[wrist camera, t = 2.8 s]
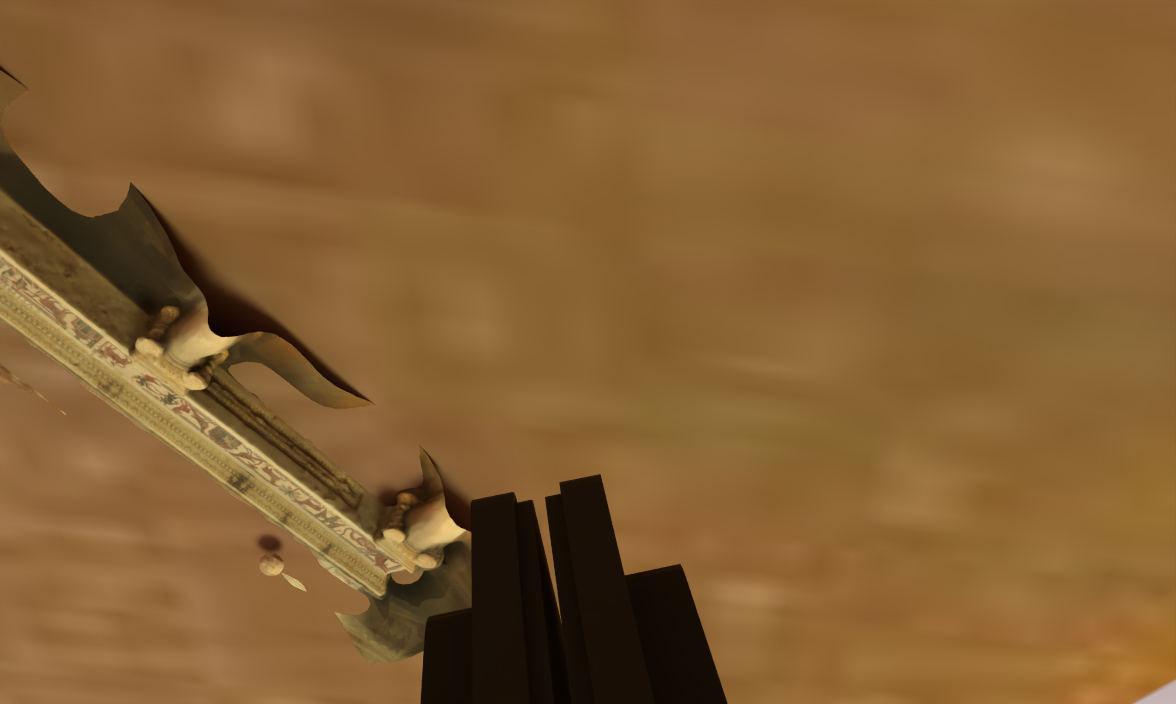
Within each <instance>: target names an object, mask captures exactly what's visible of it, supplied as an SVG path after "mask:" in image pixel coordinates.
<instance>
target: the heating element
mask: <svg viewBox="0 0 1176 704" xmlns="http://www.w3.org/2000/svg"><path fill="white" fill-rule="evenodd" d="M28 90H29V89H27V88H26V87H24V86H23V85H21V84H20V83H18V82H17V81H16V80H14V79H13V78H11V77H10V76H8V75H7V74H5V73H4V72H2V71H1V70H0V321H1V322H3V323H4V324H6V325H8V326H10V327H12V328H13V329H15V330H16V331H17V332H18V333H19V334H21V335H22V336H23V337H24V338H25V339H26V340H27V341H28V343H29V344H30V345H32V346H33V347H35V348H37V349H39V350H40V351H41V352H43V353H44V354H45V355H47V356H48V357H49V358H51V359H52V360H53V361H55V362H56V363H58V364H60V365H61V366H62V367H64V368H65V369H66V370H67V371H68V372H69V373H70V374H72V375H73V376H74V377H75V378H76V379H77V381H78V382H79V383H80V384H81V385H82V386H83V387H84V388H85V389H87V390H88V391H89V392H91V393H93V394H94V395H96V396H97V397H99V398H100V399H102V400H103V401H104V402H106V403H107V404H108V405H110V406H111V407H112V408H114V409H115V410H117V411H119V412H120V413H122V414H123V415H124V416H126V417H127V418H128V419H129V420H130V421H131V422H132V423H133V424H134V425H136V426H137V427H139V428H141V429H143V430H144V431H146V432H148V433H150V434H151V435H153V436H154V437H156V438H157V439H159V440H160V441H161V442H163V443H164V444H166V445H168V446H169V447H170V448H172V449H173V450H174V451H176V452H177V453H179V454H180V455H181V456H183V457H184V458H185V459H187V460H188V461H190V462H191V463H193V464H195V465H197V466H198V467H200V468H202V469H203V470H205V471H206V472H207V473H208V474H209V475H210V476H211V478H212V479H213V480H214V481H215V482H216V483H218V484H219V485H220V486H221V487H223V488H224V489H225V490H226V491H227V492H228V493H229V494H230V495H232V496H233V497H234V498H236V499H238V500H240V501H242V502H244V503H246V504H247V505H248V506H250V507H254V508H255V509H256V510H257V511H259V512H260V513H261V514H262V515H263V516H264V517H265V519H266V520H267V521H269V522H271V523H273V524H275V525H277V526H279V527H281V528H283V529H284V530H286V531H288V532H289V533H290V534H291V535H292V538H293V539H294V540H295V541H297V542H298V543H300V544H304V545H305V546H306V547H307V548H309V549H310V550H311V552H312V554H313V555H314V556H315V557H317V559H318V562H319V563H320V565H322V566H323V567H324V568H325V569H327V570H328V571H329V572H331V573H332V574H333V575H334V576H336V577H337V578H339V579H340V580H342V581H343V582H345V583H346V584H348V585H349V586H350V587H352V588H354V589H356V590H358V591H360V592H362V593H363V594H365V595H366V596H367V597H368V598H369V601H370V607H369V609H368V610H367V611H365V612H364V613H362V614H360V615H343V614H340V613H336V612H335V613H336V615H337V616H338V618H339V619H340V621H341V622H342V624H343V626H344V628H345V629H346V631H347V633H348V634H349V636H350V638H351V640H352V641H353V643H354V645H355V646H356V648H357V649H358V651H359V652H360V654H361V655H362V656H363V657H364V658H365V659H367V660H368V661H369V662H370V663H371V664H372V665H373V664H374V663H375V662H377V661H380V662H384V663H389V662H396V661H399V660H402V659H405V658H408V657H411V656H414V655H416V654H418V653H420V652H422V651H424V638H425V627H426V621H427V619H428V617H429V616H433V615H438V614H443V613H448V612H452V611H457V610H462V609H467V608H471V607H472V573H471V532H470V531H467V530H465V529H462V528H460V527H459V526H457V525H456V524H455V523H454V521H453V520H452V519H451V518H450V517H449V514H448V512H447V510H446V508H445V497H444V492H443V486H442V482H441V479H440V476H439V474H438V472H437V470H436V469H435V467H434V465H433V464H432V462H431V460H430V459H429V457H428V456H427V454H426V453H425V452H424V450H423V449H422V448H421V446H420V445H419V446H420V461H421V467H422V471H423V477H424V483H423V485H422V486H421V487H420V488H410V489H405V490H403V491H401V492H400V493H399V494H398V495H397V496H396V499H397V505H395V506H384V505H383V504H382V503H380V502H379V501H378V500H377V499H376V498H375V496H374V495H372V494H371V493H369V492H368V491H367V490H365V489H364V488H363V487H362V486H361V485H359V484H358V483H357V482H356V481H355V480H353V479H352V478H351V477H350V476H347V475H346V473H345V472H344V471H343V470H342V469H341V468H339V467H338V466H337V465H335V464H334V463H333V462H332V461H331V460H330V459H329V458H328V457H327V456H325V455H324V454H323V453H322V452H320V450H318V449H317V448H315V447H314V446H313V443H312V442H311V441H310V440H308V439H305V438H304V437H302V436H301V435H300V434H299V433H298V432H296V431H295V430H294V429H293V428H292V427H291V426H290V425H289V424H287V423H286V422H285V421H284V420H283V419H282V418H280V417H279V416H277V415H276V414H275V413H274V412H273V411H272V410H271V409H269V408H268V407H267V406H266V405H265V404H264V403H263V402H262V401H260V399H259V398H258V397H257V396H256V395H255V394H253V393H251V392H249V391H248V390H247V389H245V388H244V387H243V386H242V385H241V384H240V383H239V382H237V381H236V380H235V379H234V378H233V376H232V375H231V374H230V373H229V371H228V368H229V367H230V366H231V365H234V364H238V363H242V362H258V363H262V364H264V365H265V366H267V367H269V368H270V369H272V370H273V371H274V372H276V373H277V374H278V375H280V376H281V377H282V378H284V379H285V380H286V381H287V382H289V383H290V384H291V385H292V386H294V387H295V388H296V389H297V390H299V391H300V392H301V393H303V394H304V395H305V396H307V397H308V398H310V399H311V400H313V401H315V402H317V403H319V404H321V405H323V406H326V407H331V408H335V409H342V408H355V407H364V406H369V405H375V404H373V403H371V402H369V401H367V400H364V399H361V398H359V397H356V396H354V395H352V394H350V393H348V392H346V391H344V390H342V389H340V388H338V387H336V386H335V385H333V384H332V383H331V382H329V381H328V380H327V379H325V378H324V377H323V376H322V375H321V374H320V373H319V372H318V371H317V370H316V369H315V368H314V367H313V366H312V365H311V364H310V363H309V361H308V360H307V359H306V358H305V357H304V356H303V355H302V354H301V353H300V352H299V351H298V350H297V349H296V348H294V347H293V346H292V345H291V344H290V343H288V342H287V341H285V340H284V339H282V338H281V337H279V336H277V335H275V334H272V333H266V332H255V333H247V334H245V335H240V336H235V337H220V336H217V335H215V334H214V333H213V332H212V331H211V330H210V328H209V326H208V307H207V303H206V300H205V297H204V296H203V294H202V292H201V291H200V289H199V288H198V287H197V286H196V285H195V283H194V282H193V281H192V280H191V279H190V278H189V276H188V275H187V274H186V273H185V272H184V270H183V268H182V267H181V265H180V263H179V261H178V258H177V255H176V253H175V250H174V248H173V246H172V244H171V242H170V240H169V238H168V236H167V233H166V232H165V230H164V229H163V227H162V225H161V224H160V222H159V221H158V219H157V217H156V216H155V214H154V212H153V211H152V209H151V208H150V207H149V205H148V204H147V203H146V201H145V200H144V198H143V197H142V196H141V194H140V193H139V192H138V191H137V189H136V188H135V187H134V186H133V184H132V183H130V187H129V191H128V194H127V197H126V199H125V200H124V202H123V203H122V204H121V206H120V207H119V210H118V211H115V212H112V213H109V214H104V215H102V216H95V217H94V218H91V217H86V216H83V215H80V214H78V213H76V212H74V211H71V210H70V209H69V208H67V207H66V206H65V205H64V204H62V203H61V202H60V201H59V200H58V199H56V198H55V197H54V196H53V195H52V194H51V193H50V192H49V191H47V190H46V189H45V188H44V186H43V185H42V184H41V183H40V182H39V181H38V179H37V178H36V177H35V176H34V175H33V174H32V173H31V171H30V170H29V169H28V168H27V166H26V165H25V164H24V163H23V162H22V161H21V159H20V158H19V157H18V156H17V155H16V153H15V152H14V151H13V150H12V148H11V147H10V145H9V144H8V142H7V140H6V138H5V136H4V133H3V129H2V125H1V118H2V114H3V111H4V108H5V107H6V106H7V105H9V104H10V103H11V102H12V101H13V100H15V99H16V98H17V97H18V96H19V95H21V94H22V93H23V92H25V91H28ZM0 383H13V384H14V385H15V386H16V387H17V388H22V389H25V390H26V391H28V392H29V393H32V394H35V395H37V396H39V397H40V398H42V399H44V400H46V399H45V398H44V397H43V396H42V395H40V394H39V393H38V392H37V391H35V390H34V389H33V388H32V387H30V386H29V385H28V384H26V383H24V382H23V381H22V380H20V379H19V378H17V377H16V376H14V375H13V374H12V373H11V372H10V371H8V370H7V369H6V368H5V367H4V366H2V365H1V364H0ZM46 401H47V402H49V401H48V400H46ZM49 403H50V402H49ZM50 404H51V403H50ZM52 405H53V404H52ZM53 406H54V405H53ZM60 411H61V410H60ZM61 412H62V411H61ZM63 413H64V412H63ZM64 414H65V413H64ZM65 415H66V414H65ZM259 567H260V570H261V571H262V572H263V573H264V574H266V575H268V576H273V575H278V574H279V573H280V572H281V571H282V570H283V568H284V563H283V560H282V559H281V557H280V556H278V555H276V554H265V555H264V556H263V557H261V558H260V561H259ZM404 570H408V571H409V572H410V573H413V572H419V571H424V572H423V574H422V576H421V577H420V578H419V580H418V581H416V582H414V583H412V584H405V585H404V584H398V583H396V582H395V581H394V580H393V579H392V577H391V573H392V572H396V571H404ZM282 575H283V576H284V577H285V578H286V579H287V580H288V581H289V582H290V583H291V584H292V585H293V586H295V587H297V588H299V589H301V590H304V591H306V589H305V588H304V586H303V585H302V584H301V583H300V582H299V581H298V580H296V579H294V578H292V577H290V576H288V575H285V574H283V573H282Z"/></svg>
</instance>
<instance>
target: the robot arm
mask: <svg viewBox="0 0 1176 704" xmlns="http://www.w3.org/2000/svg"><path fill="white" fill-rule="evenodd" d="M559 483H560V490H561V494H557V495H552V496H548V497H545V501H546V509H547V516H548V524H549V531H550V539H551V546H552V554H553V561H554V569H555V576H556V584H557V591H558V599H559V606H560V614H561V619H560V615H559V611H558V607H557V602H556V598H555V594H554V589H553V585H552V581H551V576H550V572H549V568H548V564H547V559H546V555H545V551H544V546H543V542H542V538H541V534H540V529H539V525H538V521H537V516H536V512H535V508H534V504H533V501H532V500H528V501H523V502H518V503H517V500H516V496H515V493H514V492H510V493H505V494H500V495H496V496H491V497H486V498H481V499H476V500H472V502H471V573H472V607H471V608H467V609H462V610H457V611H452V612H448V613H443V614H438V615H433V616H429V617H428V619H427V621H426V627H425V638H424V655H423V672H422V689H421V704H727V701H726V698H725V694H724V691H723V688H722V685H721V682H720V679H719V676H718V673H717V670H716V667H715V664H714V661H713V658H712V655H711V652H710V649H709V646H708V643H707V640H706V637H705V634H704V631H703V628H702V625H701V622H700V619H699V616H698V613H697V609H696V606H695V603H694V600H693V597H692V594H691V591H690V588H689V585H688V582H687V579H686V576H685V574H684V571H683V568H682V566H681V565H680V564H678V565H673V566H668V567H663V568H659V569H654V570H649V571H644V572H639V573H635V574H630V575H624V571H623V567H622V563H621V558H620V554H619V550H618V546H617V542H616V537H615V533H614V529H613V525H612V521H611V516H610V512H609V508H608V504H607V500H606V495H605V491H604V487H603V483H602V479H601V475H600V474H599V475H594V476H589V477H584V478H579V479H574V480H569V481H564V482H559ZM561 621H562V624H561Z"/></svg>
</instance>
